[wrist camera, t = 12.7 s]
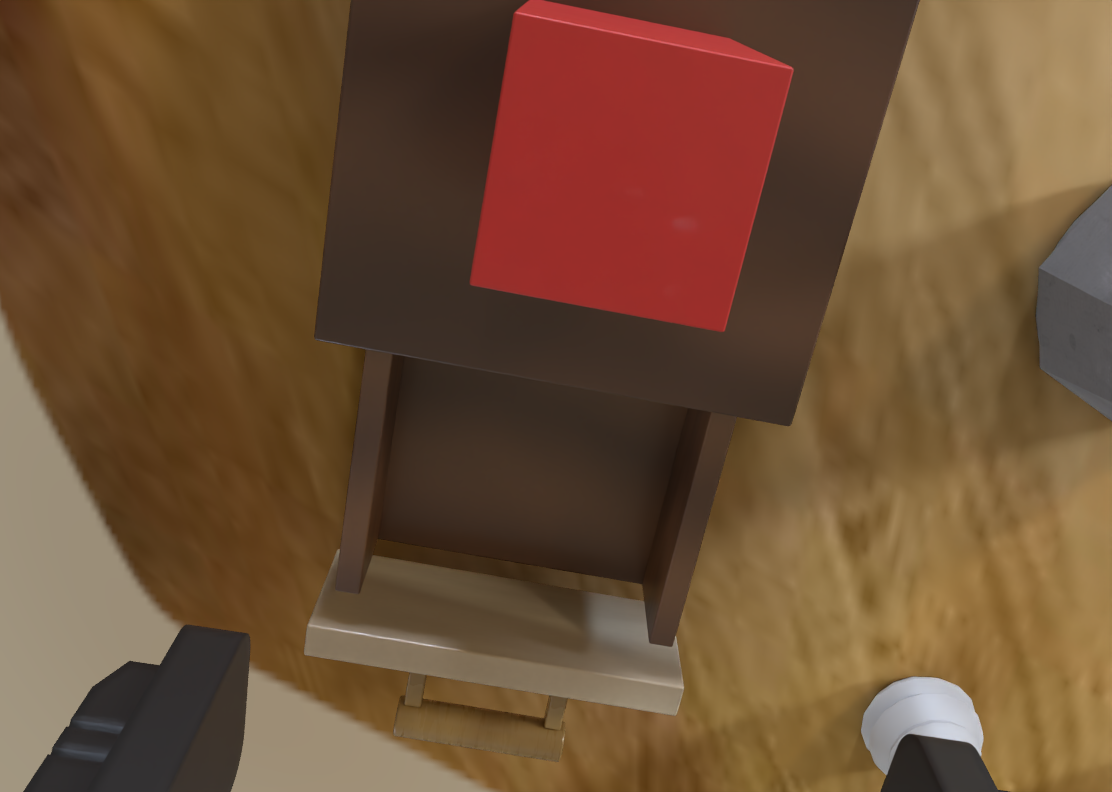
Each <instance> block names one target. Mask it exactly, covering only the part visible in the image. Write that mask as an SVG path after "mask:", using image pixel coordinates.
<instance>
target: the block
mask: <svg viewBox="0 0 1112 792" xmlns="http://www.w3.org/2000/svg"><path fill="white" fill-rule="evenodd" d="M793 72H794V69H793V68H792V67H791V66H789V65H786V64H784V63H782V62H780V61H778V60H775V59H773V58H771V57H769V56H767V55H765V54H762V53H760V52H758V51H756V50H754V49H751V48H749V47H747V46H745V45H743V44H741V43H738V42H736V41H734V40H732V39H730V38H726V37H721V36H716V35H711V34H706V33H701V32H696V31H691V30H686V29H682V28H677V27H672V26H667V25H662V24H657V23H652V22H647V21H642V20H637V19H632V18H627V17H623V16H618V15H613V14H608V13H603V12H598V11H593V10H588V9H583V8H578V7H573V6H568V5H563V4H559V3H554V2H549V1H544V0H529V1H527V2H526V3H525V4H524V5H523V6H521V7H520V8H519V9H518V10H517V11H515V12H514V14H513V20H512V26H511V32H510V38H509V45H508V51H507V57H506V63H505V69H504V75H503V81H502V87H501V93H500V99H499V105H498V112H497V118H496V124H495V130H494V136H493V142H492V148H491V154H490V160H489V166H488V173H487V179H486V185H485V191H484V197H483V203H482V209H481V215H480V221H479V227H478V233H477V240H476V246H475V252H474V258H473V264H472V270H471V276H470V285H472V286H477V287H482V288H487V289H493V290H498V291H503V292H509V293H514V294H520V295H525V296H530V297H536V298H541V299H546V300H552V301H557V302H563V303H568V304H573V305H579V306H584V307H589V308H595V309H600V310H605V311H611V312H616V313H622V314H627V315H632V316H638V317H643V318H648V319H654V320H659V321H665V322H670V323H675V324H681V325H686V326H691V327H697V328H702V329H707V330H713V331H718V332H724V331H725V328H726V324H727V320H728V317H729V313H730V309H731V305H732V302H733V298H734V294H735V290H736V286H737V283H738V279H739V275H740V271H741V268H742V264H743V260H744V256H745V252H746V249H747V245H748V241H749V237H750V234H751V230H752V226H753V222H754V219H755V215H756V211H757V207H758V203H759V200H760V196H761V192H762V188H763V185H764V181H765V177H766V173H767V170H768V166H769V162H770V158H771V154H772V151H773V147H774V143H775V139H776V136H777V132H778V128H779V124H780V121H781V117H782V113H783V109H784V105H785V102H786V98H787V94H788V90H789V87H790V83H791V79H792V75H793Z"/></svg>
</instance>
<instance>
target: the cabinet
mask: <svg viewBox="0 0 1112 792" xmlns="http://www.w3.org/2000/svg"><path fill="white" fill-rule="evenodd" d="M527 1H529V0H351V3H350V13H349V22H348V31H347V40H346V49H345V59H344V68H343V77H342V86H341V95H340V104H339V114H338V123H337V132H336V141H335V150H334V160H333V169H332V178H331V187H330V196H329V206H328V215H327V224H326V233H325V242H324V252H323V261H322V270H321V279H320V288H319V298H318V307H317V316H316V325H315V334H314V337H315V339H316V340H318V341H324V342H329V343H335V344H340V345H346V346H351V347H357V348H362V349H368V350H373V351H379V352H384V353H389V354H395V355H400V356H406V357H411V358H417V359H422V360H428V361H433V362H439V363H444V364H450V365H455V366H461V367H466V368H472V369H477V370H483V371H488V372H494V373H499V374H505V375H510V376H516V377H521V378H527V379H532V380H538V381H543V382H549V383H554V384H559V385H565V386H570V387H576V388H581V389H587V390H592V391H598V392H603V393H609V394H614V395H620V396H625V397H631V398H636V399H642V400H647V401H653V402H658V403H664V404H669V405H675V406H680V407H686V408H691V409H697V410H702V411H708V412H713V413H719V414H724V415H729V416H735V417H740V418H746V419H751V420H757V421H762V422H768V423H773V424H779V425H784V426H790V425H791V424H792V421H793V418H794V414H795V411H796V408H797V404H798V401H799V398H800V395H801V391H802V388H803V385H804V381H805V378H806V375H807V371H808V368H809V365H810V361H811V358H812V355H813V352H814V348H815V345H816V342H817V338H818V335H819V332H820V328H821V325H822V322H823V319H824V315H825V312H826V309H827V305H828V302H829V299H830V295H831V292H832V289H833V286H834V282H835V279H836V276H837V272H838V269H839V266H840V262H841V259H842V256H843V252H844V249H845V246H846V243H847V239H848V236H849V233H850V229H851V226H852V223H853V219H854V216H855V213H856V210H857V206H858V203H859V200H860V196H861V193H862V190H863V186H864V183H865V180H866V176H867V173H868V170H869V167H870V163H871V160H872V157H873V153H874V150H875V147H876V143H877V140H878V137H879V134H880V130H881V127H882V124H883V120H884V117H885V114H886V110H887V107H888V104H889V101H890V97H891V94H892V91H893V87H894V84H895V81H896V77H897V74H898V71H899V67H900V64H901V61H902V58H903V54H904V51H905V48H906V44H907V41H908V38H909V34H910V31H911V28H912V25H913V21H914V18H915V15H916V11H917V8H918V5H919V1H920V0H544V1H549V2H554V3H559V4H563V5H568V6H573V7H578V8H583V9H588V10H593V11H598V12H603V13H608V14H613V15H618V16H623V17H627V18H632V19H637V20H642V21H647V22H652V23H657V24H662V25H667V26H672V27H677V28H682V29H686V30H691V31H696V32H701V33H706V34H711V35H716V36H721V37H726V38H730V39H732V40H734V41H736V42H738V43H741V44H743V45H745V46H747V47H749V48H751V49H754V50H756V51H758V52H760V53H762V54H765V55H767V56H769V57H771V58H773V59H775V60H778V61H780V62H782V63H784V64H786V65H789V66H791V67H792V68H793V69H794V72H793V75H792V79H791V83H790V87H789V90H788V94H787V98H786V102H785V105H784V109H783V113H782V117H781V121H780V124H779V128H778V132H777V136H776V139H775V143H774V147H773V151H772V154H771V158H770V162H769V166H768V170H767V173H766V177H765V181H764V185H763V188H762V192H761V196H760V200H759V203H758V207H757V211H756V215H755V219H754V222H753V226H752V230H751V234H750V237H749V241H748V245H747V249H746V252H745V256H744V260H743V264H742V268H741V271H740V275H739V279H738V283H737V286H736V290H735V294H734V298H733V302H732V305H731V309H730V313H729V317H728V320H727V324H726V328H725V331H724V332H718V331H713V330H707V329H702V328H697V327H691V326H686V325H681V324H675V323H670V322H665V321H659V320H654V319H648V318H643V317H638V316H632V315H627V314H622V313H616V312H611V311H605V310H600V309H595V308H589V307H584V306H579V305H573V304H568V303H563V302H557V301H552V300H546V299H541V298H536V297H530V296H525V295H520V294H514V293H509V292H503V291H498V290H493V289H487V288H482V287H477V286H472V285H470V276H471V270H472V264H473V258H474V252H475V246H476V240H477V233H478V227H479V221H480V215H481V209H482V203H483V197H484V191H485V185H486V179H487V173H488V166H489V160H490V154H491V148H492V142H493V136H494V130H495V124H496V118H497V112H498V105H499V99H500V93H501V87H502V81H503V75H504V69H505V63H506V57H507V51H508V45H509V38H510V32H511V26H512V20H513V14H514V12H515V11H517V10H518V9H519V8H520V7H521V6H523V5H524V4H525V3H526V2H527Z"/></svg>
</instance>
